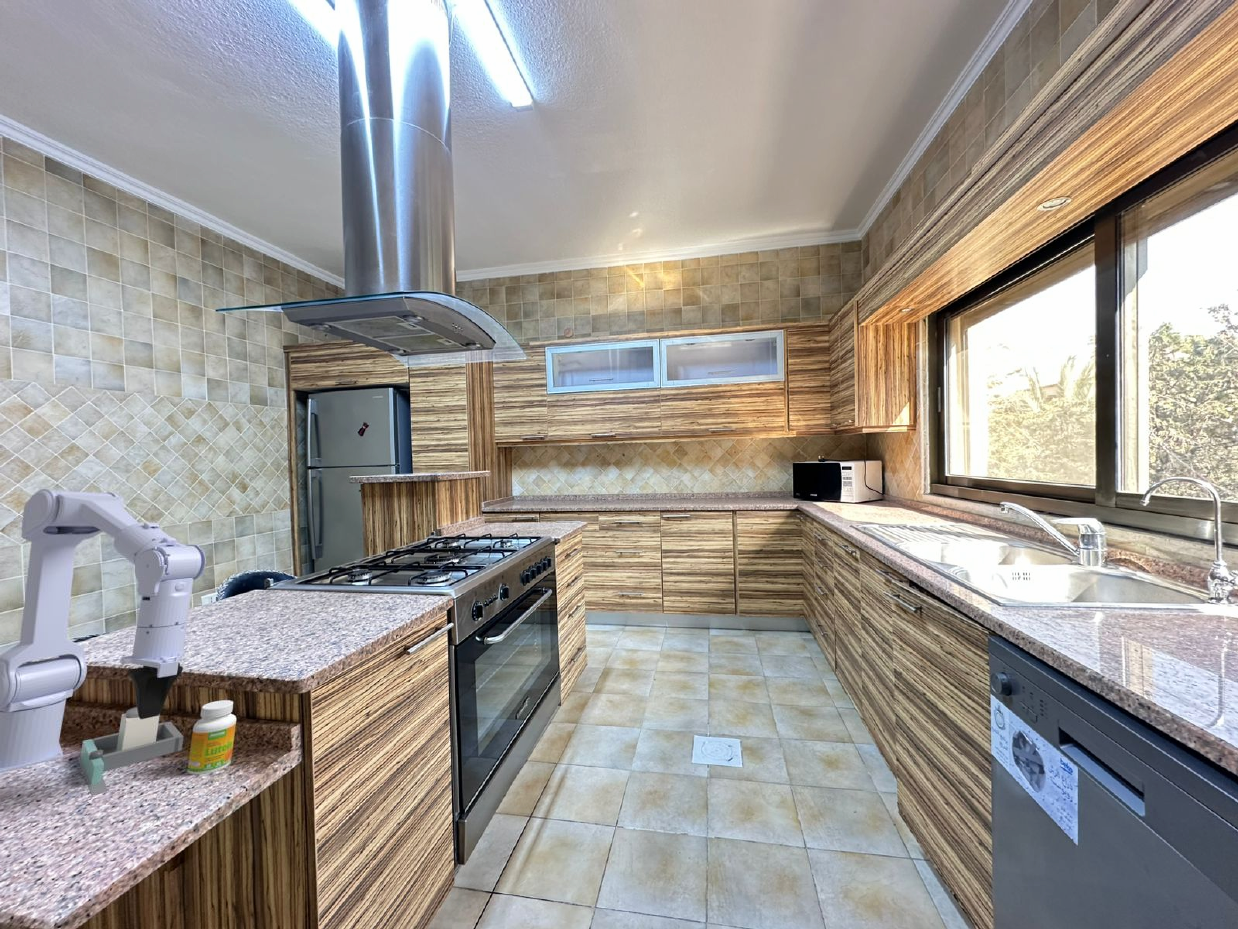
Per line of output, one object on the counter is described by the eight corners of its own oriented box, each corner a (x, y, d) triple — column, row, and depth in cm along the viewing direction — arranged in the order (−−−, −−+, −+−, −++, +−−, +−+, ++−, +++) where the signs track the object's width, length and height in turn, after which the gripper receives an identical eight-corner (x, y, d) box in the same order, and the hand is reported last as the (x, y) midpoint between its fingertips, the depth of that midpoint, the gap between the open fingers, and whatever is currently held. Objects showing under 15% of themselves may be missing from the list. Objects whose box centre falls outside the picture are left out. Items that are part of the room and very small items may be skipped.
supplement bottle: (201, 779, 73) (209, 713, 74) (178, 772, 74) (187, 707, 76) (238, 763, 78) (246, 701, 79) (217, 757, 79) (224, 696, 81)
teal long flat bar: (78, 757, 77) (82, 736, 78) (91, 754, 78) (94, 733, 79) (89, 785, 70) (93, 761, 70) (103, 781, 71) (106, 758, 71)
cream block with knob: (116, 752, 79) (122, 709, 80) (149, 743, 82) (155, 702, 83) (120, 759, 77) (127, 715, 78) (154, 750, 80) (160, 708, 81)
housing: (76, 758, 78) (79, 742, 78) (167, 735, 87) (169, 721, 87) (91, 797, 67) (94, 779, 67) (193, 767, 76) (196, 750, 76)
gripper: (117, 621, 74) (103, 712, 73) (135, 635, 66) (119, 739, 64) (177, 615, 80) (165, 699, 78) (201, 628, 71) (188, 723, 70)
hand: (149, 716), depth 71 cm, fingers closed
